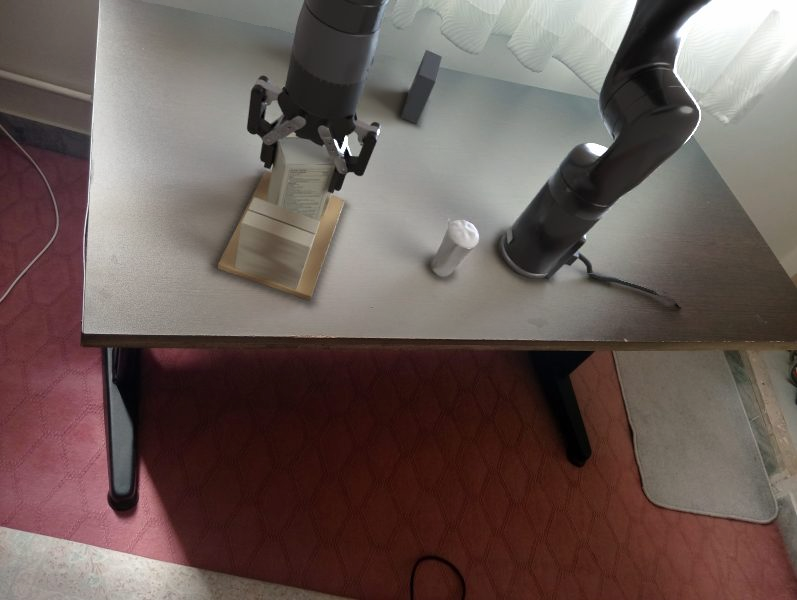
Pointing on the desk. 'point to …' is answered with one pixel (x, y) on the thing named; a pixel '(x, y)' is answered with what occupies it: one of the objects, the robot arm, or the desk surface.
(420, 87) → the grey bookends
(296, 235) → the wooden holder
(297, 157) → the cosmetic box
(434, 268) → the milkshake
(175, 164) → the desk surface
